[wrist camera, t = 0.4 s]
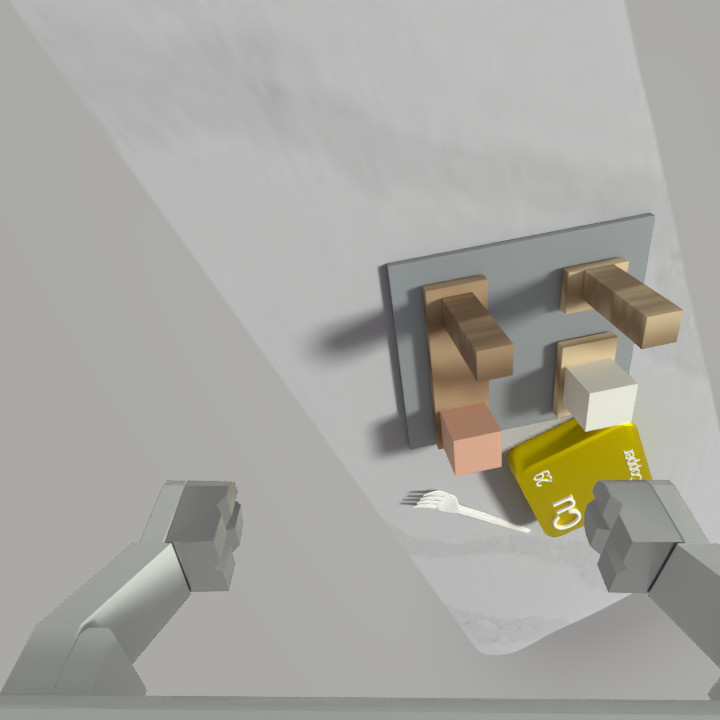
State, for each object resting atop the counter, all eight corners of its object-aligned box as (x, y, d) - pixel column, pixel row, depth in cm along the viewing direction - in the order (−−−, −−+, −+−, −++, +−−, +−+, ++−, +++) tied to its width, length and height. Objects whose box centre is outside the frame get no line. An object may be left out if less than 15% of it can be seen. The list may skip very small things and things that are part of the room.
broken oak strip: (563, 268, 51) (629, 320, 41) (621, 256, 51) (701, 306, 41) (552, 411, 60) (604, 480, 51) (602, 401, 61) (662, 468, 51)
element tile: (637, 470, 70) (660, 496, 66) (535, 517, 72) (551, 545, 68) (613, 395, 63) (637, 419, 58) (500, 450, 65) (515, 477, 61)
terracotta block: (440, 411, 56) (453, 441, 52) (484, 401, 57) (501, 431, 52) (442, 445, 59) (455, 476, 55) (485, 436, 59) (501, 466, 55)
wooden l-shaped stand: (422, 286, 50) (457, 344, 40) (483, 274, 50) (532, 329, 40) (435, 442, 60) (466, 517, 51) (486, 432, 61) (525, 504, 51)
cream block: (565, 366, 56) (589, 393, 51) (610, 357, 56) (638, 383, 52) (562, 403, 58) (585, 431, 54) (605, 394, 58) (631, 422, 54)
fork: (520, 534, 75) (526, 545, 73) (407, 499, 67) (411, 510, 65) (535, 519, 73) (541, 530, 72) (421, 481, 65) (425, 493, 64)
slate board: (386, 263, 49) (388, 266, 48) (650, 212, 50) (655, 215, 49) (408, 444, 61) (410, 449, 61) (619, 400, 62) (623, 404, 62)
